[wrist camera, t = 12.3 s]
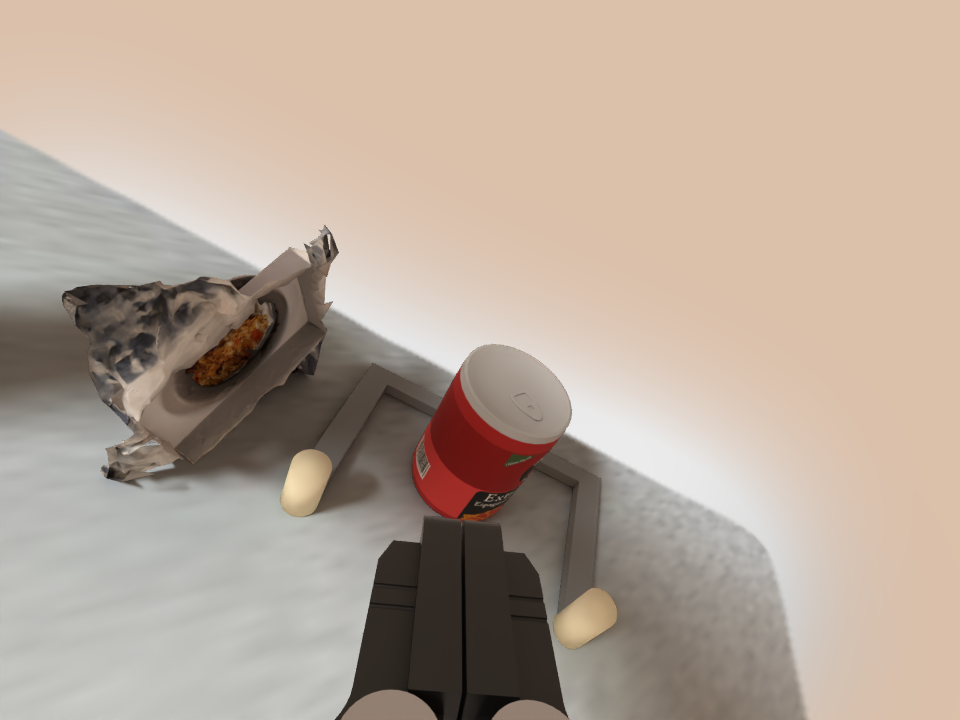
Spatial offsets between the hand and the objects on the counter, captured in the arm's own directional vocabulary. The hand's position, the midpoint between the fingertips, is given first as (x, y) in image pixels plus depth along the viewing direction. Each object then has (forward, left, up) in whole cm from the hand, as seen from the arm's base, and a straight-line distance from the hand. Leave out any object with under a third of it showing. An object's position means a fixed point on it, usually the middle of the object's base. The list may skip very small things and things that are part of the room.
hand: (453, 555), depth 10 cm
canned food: (+3, +20, -23) cm, 31 cm away
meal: (-14, +16, -23) cm, 31 cm away
